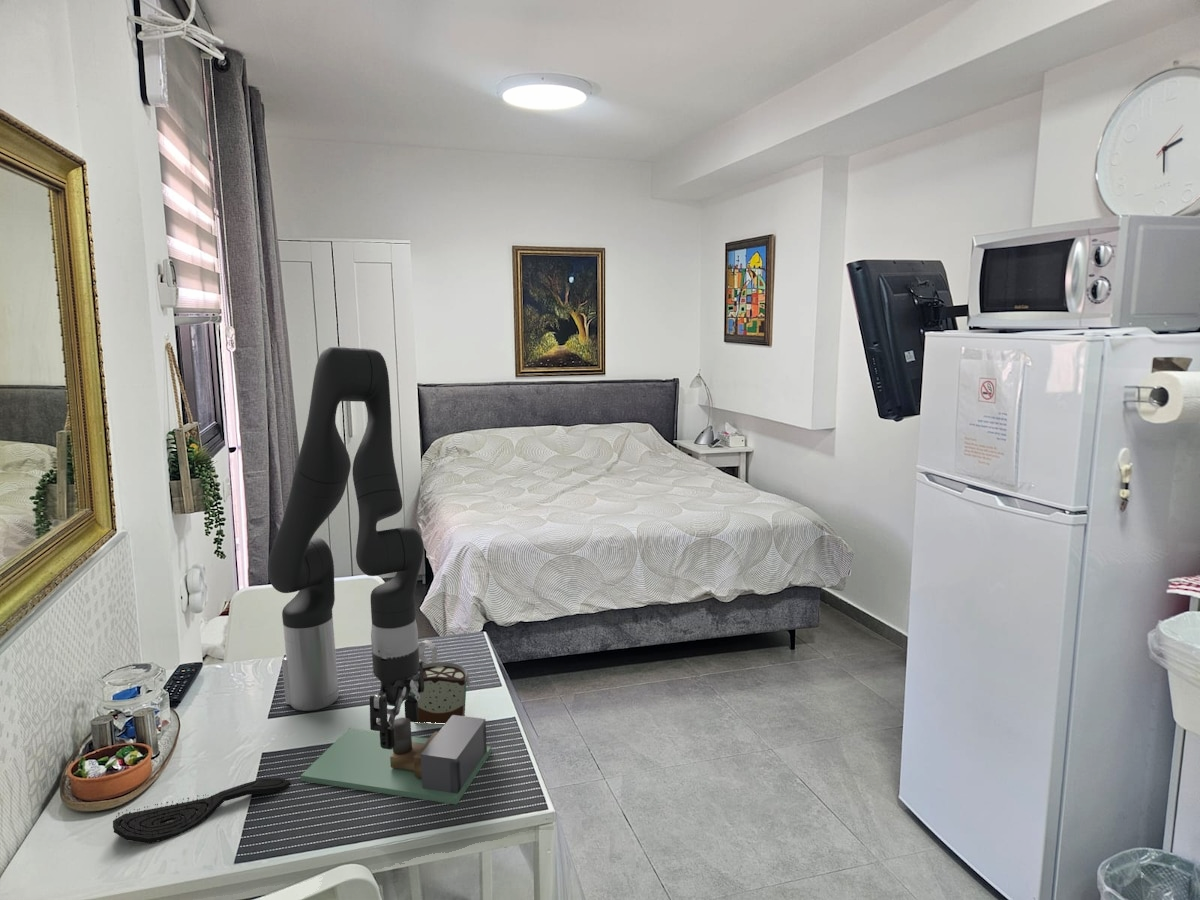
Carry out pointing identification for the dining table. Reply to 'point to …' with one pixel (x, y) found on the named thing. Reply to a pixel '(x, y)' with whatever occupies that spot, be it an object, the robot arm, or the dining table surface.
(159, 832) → the hairbrush
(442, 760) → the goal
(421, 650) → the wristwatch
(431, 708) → the food container
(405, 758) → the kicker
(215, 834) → the dining table surface
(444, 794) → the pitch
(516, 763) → the dining table surface
